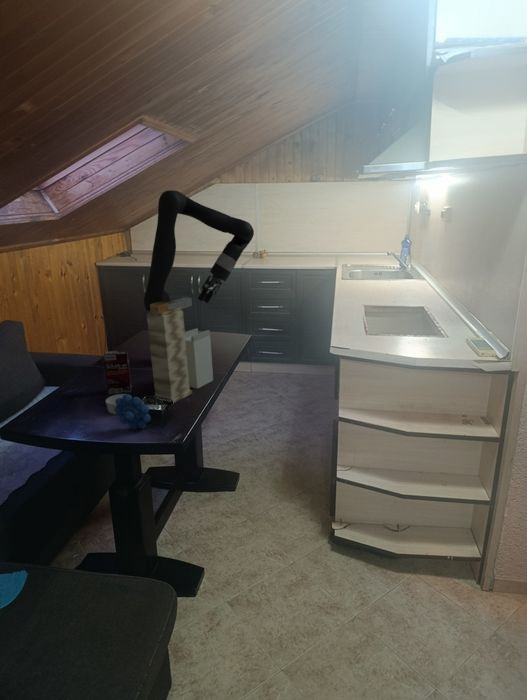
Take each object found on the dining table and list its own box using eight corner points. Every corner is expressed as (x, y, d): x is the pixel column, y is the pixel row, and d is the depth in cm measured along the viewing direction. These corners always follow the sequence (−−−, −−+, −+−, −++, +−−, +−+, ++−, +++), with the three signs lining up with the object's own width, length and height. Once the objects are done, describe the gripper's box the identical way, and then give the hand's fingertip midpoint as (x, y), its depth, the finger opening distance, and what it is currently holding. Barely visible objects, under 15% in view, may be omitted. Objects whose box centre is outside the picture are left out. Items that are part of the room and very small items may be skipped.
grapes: (111, 434, 147) (106, 399, 144) (120, 425, 154) (115, 391, 150) (147, 435, 146) (142, 400, 142) (154, 425, 152) (150, 391, 149)
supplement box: (108, 394, 179) (102, 355, 174) (109, 390, 184) (104, 351, 179) (131, 392, 181) (126, 353, 176) (132, 387, 185) (127, 349, 180)
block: (159, 316, 161) (157, 305, 160) (150, 315, 163) (149, 304, 162) (192, 305, 176) (192, 295, 174) (185, 305, 177) (184, 295, 176)
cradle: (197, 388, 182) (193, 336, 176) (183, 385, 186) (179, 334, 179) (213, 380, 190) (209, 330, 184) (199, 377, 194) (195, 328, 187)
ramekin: (122, 416, 160) (121, 405, 159) (101, 413, 163) (99, 402, 162) (138, 406, 168) (136, 395, 167) (117, 403, 171) (116, 392, 170)
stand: (172, 403, 169) (163, 314, 159) (153, 398, 174) (143, 311, 164) (192, 393, 178) (185, 307, 168) (173, 388, 183) (165, 305, 173)
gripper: (227, 268, 182) (205, 304, 184) (234, 274, 196) (214, 307, 198) (211, 258, 183) (190, 294, 185) (219, 264, 197) (200, 297, 199)
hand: (202, 301), depth 191 cm, fingers open, 8 cm apart
